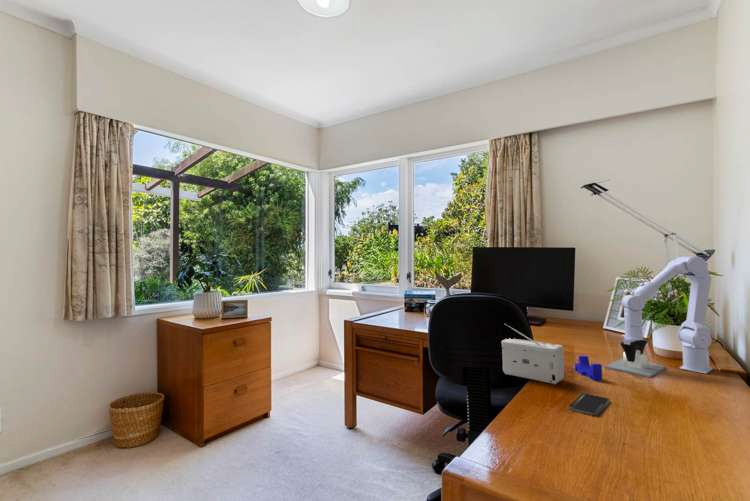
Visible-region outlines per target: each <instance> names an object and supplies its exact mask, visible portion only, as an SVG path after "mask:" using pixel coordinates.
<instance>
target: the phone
mask: <svg viewBox="0 0 750 501" xmlns="http://www.w3.org/2000/svg"><path fill="white" fill-rule="evenodd" d="M610 401H611V400H610V399H609V398H607V397H602V396H599V395H594V394H589V393H583V392H582V393H581V394H580V395H579V396H578V397H577V398H576V399H575V400H574V401H572V403H570V405H568V410H569V409H570V410H569V411H571V410H573V411H572V412H575V411H577V412H576V413H578V412H581V413H580V414H582V413H584V415H586V414H588V415H587V416H590V415H592V416H591V417H594V416H598V417H600V415H601V414H602V413H603V412H604V410H605V409H606V408H607V407H608V405H609V404H610V403H611V402H610ZM606 406H607V407H606Z"/></svg>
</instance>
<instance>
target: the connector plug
mask: <svg viewBox="0 0 750 501" xmlns="http://www.w3.org/2000/svg"><path fill="white" fill-rule="evenodd" d="M622 353H623V355H622V357H623V359H624V365H626V366H631V367H636V368H641V369H648V363H649V362H648V355H647V354H644V353H643V354H640V351H639V350H636V354H635V361H634V362H630V361H628V360H627V358H626V354H625V352H624V351H623V352H622Z"/></svg>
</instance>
